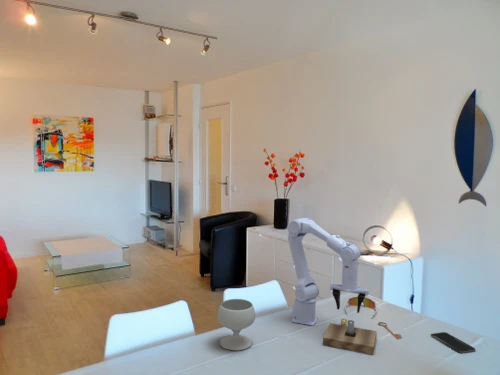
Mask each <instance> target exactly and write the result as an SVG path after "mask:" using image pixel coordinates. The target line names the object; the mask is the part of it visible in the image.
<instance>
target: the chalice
mask: <svg viewBox="0 0 500 375" xmlns="http://www.w3.org/2000/svg"><path fill="white" fill-rule="evenodd" d="M217 319H218V322H219V324H220V325H221V326H223V327H224V328H226V329H229V330H230V331H231V332H233V334H230V335H227V336H225V337H223V338H222V339H221V340H220V341H219V344H220V346H221V347H222V348H224V349H226V350H229V351H243V350H246V349H247V350H248V349H249V348H251V346H253V340H252V339H251V338H250V337H248V336H246V335H242V334H240V332H241V331H242V330H244V329H247V328H249V327H251V326H252V325H253V324H254V323H255V320H256V310H255V307H254V305H253V303H252V302H251V301H249V300H247V299H241V298H233V299H232V298H231V299H227V300H224V301H222V302H221V304H220V305H219V307H218V311H217Z"/></svg>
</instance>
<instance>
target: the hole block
mask: <svg viewBox="0 0 500 375" xmlns="http://www.w3.org/2000/svg"><path fill="white" fill-rule="evenodd" d="M347 326H348V325H347ZM347 326H344V325H341V324H337V323H332V322H330V323H329V324H328V326H327V329H326V331H325V333H324V335H323V336H322V346H325V347H330V348H336V349H340V350H345V351H349V352H357V353H361V354H364V355H365V354H366V355H372V356H373V355H374V352H375V347H376V342H377V334H378V333H377V332H378V331H377V330H372V329H367V328H360V327H357V326H356V327H355V326H354V337H350V336H347Z"/></svg>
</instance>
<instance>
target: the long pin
mask: <svg viewBox="0 0 500 375" xmlns="http://www.w3.org/2000/svg"><path fill="white" fill-rule="evenodd" d="M354 327H355V321H354V320H350V319H349V320H347V336H350V337H354Z"/></svg>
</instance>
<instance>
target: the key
mask: <svg viewBox="0 0 500 375" xmlns="http://www.w3.org/2000/svg"><path fill="white" fill-rule="evenodd" d="M377 324H378V326H381V327H383V328H385V329H386V330H387V332H389V333H390V334H391V335H392V336H393V337H394V338H395V339H396V340H400V339H403V336H402V335H401V334H400V333H394V332H393V331H391V329H389V327H388V324H387V323H385V322H381V321H379V322H378V323H377Z"/></svg>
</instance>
